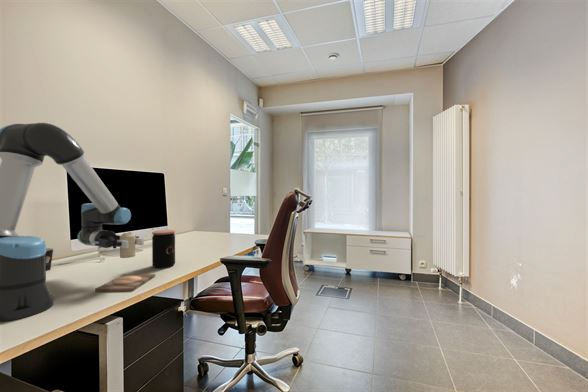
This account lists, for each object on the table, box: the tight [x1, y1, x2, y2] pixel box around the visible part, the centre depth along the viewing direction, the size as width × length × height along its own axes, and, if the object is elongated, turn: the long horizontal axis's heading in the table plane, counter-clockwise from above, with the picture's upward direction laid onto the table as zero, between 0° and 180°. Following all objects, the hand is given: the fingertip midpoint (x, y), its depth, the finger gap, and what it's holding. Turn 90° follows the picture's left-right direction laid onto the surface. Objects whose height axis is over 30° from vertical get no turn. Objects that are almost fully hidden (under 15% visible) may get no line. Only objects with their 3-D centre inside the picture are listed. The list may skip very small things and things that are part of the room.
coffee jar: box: [151, 229, 176, 269], centre depth 138 cm, size 11×11×18 cm
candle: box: [119, 231, 136, 259], centre depth 111 cm, size 6×6×10 cm
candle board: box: [94, 273, 156, 293], centre depth 111 cm, size 18×14×2 cm
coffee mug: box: [46, 247, 54, 272], centre depth 129 cm, size 12×9×10 cm
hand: (135, 243), depth 109 cm, fingers closed on candle, 5 cm apart
